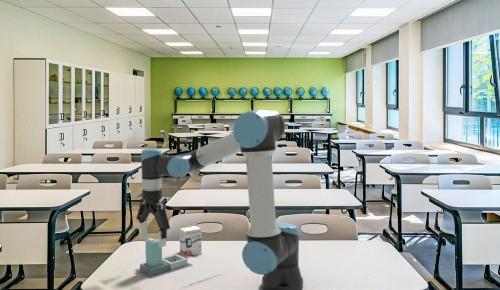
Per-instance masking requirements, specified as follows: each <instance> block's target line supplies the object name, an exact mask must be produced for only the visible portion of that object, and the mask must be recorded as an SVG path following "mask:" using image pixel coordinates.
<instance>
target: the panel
mask: <svg viewBox="0 0 500 290" xmlns="http://www.w3.org/2000/svg"><path fill="white" fill-rule="evenodd" d="M193 266H194V265H193V264H192V263H189V262H188V258H186V257H184V256H182V255H179V254H177V253H175V254H170V255H168V256H165V257H164V256H163V257H162V266H158V267H155V268H150V267H148V266H146V262H143V263H140V264H139V268H137V269H134V271H135V272H137V273H138V274H140V275H143V277H146V278H148V279H149V280H151V279H155V278H157V277H160V276H163V275H167V274H171V273H174V272H176V271H179V270H180V271H181V270H183V269H186V268H188V267H193Z"/></svg>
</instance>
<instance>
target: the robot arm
mask: <svg viewBox="0 0 500 290" xmlns="http://www.w3.org/2000/svg"><path fill="white" fill-rule="evenodd" d="M285 130H286V123H285V119H284V116H282V115H281V114H280V113H279V112H278V111H276V110H273V109H260V110H259V109H258V110H257V109H256V110H254V109H253V110H249V111H245V112H243V113H241V114H240V115H239V116H238V117H237V118H236V120H235V122H234V123H233V129H232V133H229V134H227V135H226V136H222V137H221V138H219V139H217V140H214V141H212V142H210V143H208V144H206V145H203V146H201V147H199V148H197V149H195V150H192V151H190V152H187V153H181V154H176V155H163V154H162V150H161V149H160V148H144V149H142V151H141V158H140V161H141V163H140V164H141V189H142V190H141V198H140V201H139V202H140V204H139V206H138V207H139V208H138V211H137V215H136V220H137V221H138V222H139V230H140V231H139V234H140V237H139V238H140V240H144V239H148V220H147V219H148V217H149V215H150V213H151V214H152V216H154V218H155V221H156V223H157V226H158V228H159V229H158V240H159V247H162V248H163V247H166V246H167V230H170V229H171V226H170V222H169V220H168V216H167V215H168V214H167V212H166V207H165V203H160V201H161V200H162V198H163V189H162V188H163V185H162V184H163V183H162V181H163V180H162V179H163V178H162V176H167V177H173V178H184V177H186V176H187V175H188V174H189V173H193V172H197V171H201V170H202V169H204V168H205V167H207V166H210V165H212V164H215V163H216V162H219V161H222V160H224V159H225V158H226V159H227V158H229V157H231V156H234V155H236V154H237V153H241V154H242V155H243V156H244V158H245V164H246V165H245V166H246V178H247V191H248V206H249V209H248V210H249V218H250V220H249V222H250V227H249V229H248V230H247V231H246V240H247V241H246V242H247V243H246V244H245V245H244V247H243V249H242V252H241V257H242V261H243V263H244V265H245V266H246V268H248V269H249V271H250V272H252V273H254V274H257V275H259V276H260V275H262V279H261V286H262V287H261V288H262V289H264V290H302V289H303V288H304V278H303V276H302V273H301V270H300V264H299V256H300V255H299V250H300V249H299V248H300V247H299V245H300V232H299V227H298V226H297V225H295V224H291V223H286V222H277V220H276V219H277V218H276V207H275V206H276V205H275V204H276V203H275V190H274V189H275V188H274V174H273V157H272V155H273V154H274V153H275V151H276V150H277V149H276V148H277V147H276V142H277V141H279V140H280V139H281V138H282V137H283V136H284V134H285Z"/></svg>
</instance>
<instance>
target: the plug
mask: <svg viewBox="0 0 500 290" xmlns="http://www.w3.org/2000/svg"><path fill="white" fill-rule="evenodd" d="M146 239H147V240H145V263H146V266H148V267H150V268H155V267H158V266H162V258H163V250H162V249H163V247H159V238H152V237H147V238H146Z"/></svg>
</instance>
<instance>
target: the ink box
mask: <svg viewBox="0 0 500 290" xmlns="http://www.w3.org/2000/svg"><path fill="white" fill-rule="evenodd" d="M178 231H179V232H178V233H179V252H180V253H181V254H182V255H184V256H185V255H187V256H189V257H193V256H197V255H202V254H203V252H202V248H203V247H202V228H200V227H199V226H198V225H191V226H186V227H182V228H179V230H178Z"/></svg>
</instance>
